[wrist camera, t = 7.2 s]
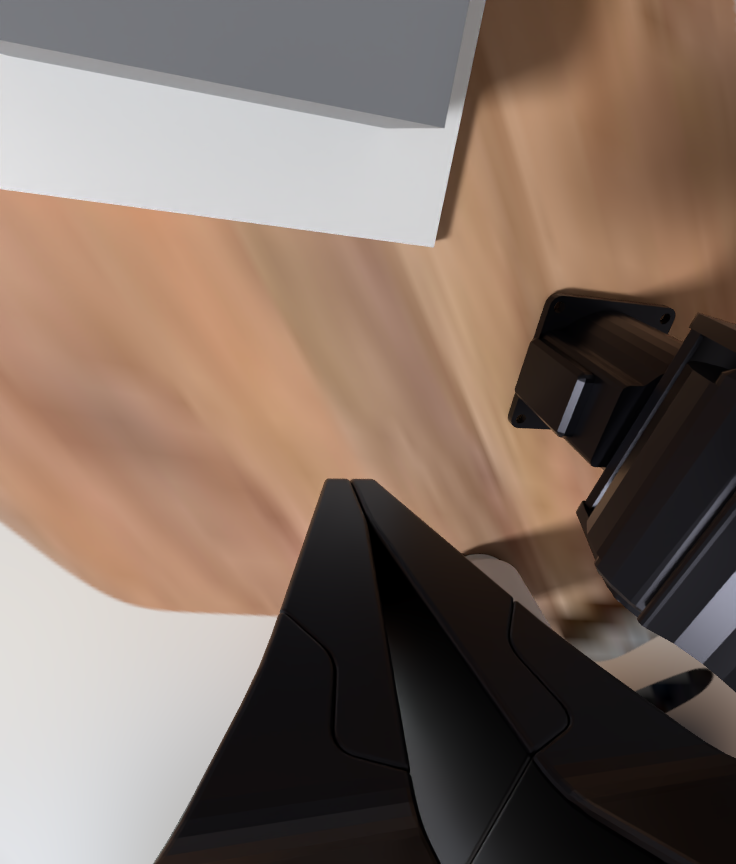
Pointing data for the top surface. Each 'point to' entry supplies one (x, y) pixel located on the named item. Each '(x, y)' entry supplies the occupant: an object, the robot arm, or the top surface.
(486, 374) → the top surface
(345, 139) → the grey and white panel
